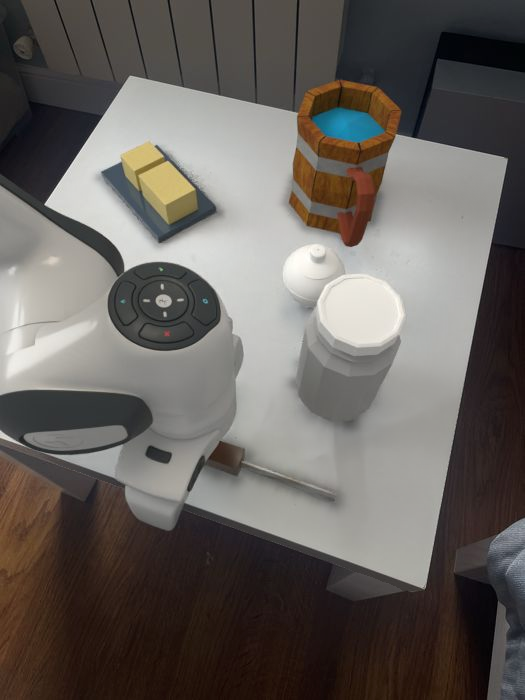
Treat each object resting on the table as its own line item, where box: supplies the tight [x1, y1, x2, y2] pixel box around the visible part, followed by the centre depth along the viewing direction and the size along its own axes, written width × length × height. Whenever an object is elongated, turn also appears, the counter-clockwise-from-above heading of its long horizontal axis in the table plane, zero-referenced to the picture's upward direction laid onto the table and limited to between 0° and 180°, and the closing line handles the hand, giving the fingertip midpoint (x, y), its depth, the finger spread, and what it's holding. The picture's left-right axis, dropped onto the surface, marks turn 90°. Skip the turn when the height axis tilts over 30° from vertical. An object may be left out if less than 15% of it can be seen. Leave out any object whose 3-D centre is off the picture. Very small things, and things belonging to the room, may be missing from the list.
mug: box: [288, 79, 402, 248], centre depth 73 cm, size 20×14×15 cm
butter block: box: [138, 161, 198, 225], centre depth 77 cm, size 5×7×4 cm
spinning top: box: [281, 243, 347, 309], centre depth 66 cm, size 8×8×12 cm
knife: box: [204, 440, 338, 501], centre depth 60 cm, size 21×2×3 cm, turn 71°
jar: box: [295, 273, 407, 422], centre depth 58 cm, size 10×10×18 cm
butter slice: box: [119, 140, 165, 191], centre depth 79 cm, size 5×4×4 cm
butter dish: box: [100, 144, 217, 244], centre depth 80 cm, size 10×16×1 cm, turn 38°
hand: (199, 448), depth 60 cm, fingers closed on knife, 2 cm apart
